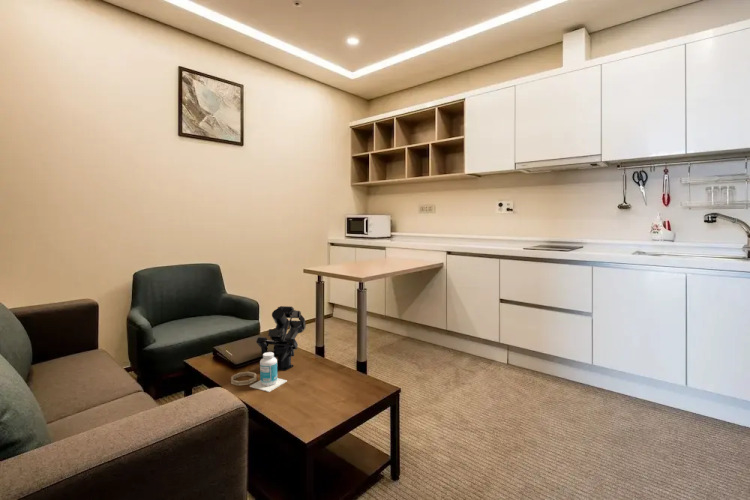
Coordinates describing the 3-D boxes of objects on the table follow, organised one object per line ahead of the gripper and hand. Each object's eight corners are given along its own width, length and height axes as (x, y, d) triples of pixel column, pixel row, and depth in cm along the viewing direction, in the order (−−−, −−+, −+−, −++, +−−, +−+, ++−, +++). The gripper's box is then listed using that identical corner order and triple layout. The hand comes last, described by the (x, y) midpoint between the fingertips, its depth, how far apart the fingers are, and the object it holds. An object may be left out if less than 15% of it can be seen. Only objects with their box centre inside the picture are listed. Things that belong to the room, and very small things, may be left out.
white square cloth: (268, 376, 175) (268, 375, 175) (287, 381, 170) (287, 380, 170) (249, 386, 164) (249, 385, 164) (269, 392, 159) (268, 391, 159)
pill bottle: (274, 378, 172) (274, 349, 171) (279, 384, 166) (279, 354, 165) (258, 381, 169) (257, 352, 167) (262, 388, 162) (262, 358, 161)
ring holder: (244, 373, 178) (244, 370, 178) (261, 377, 174) (261, 374, 173) (225, 382, 168) (225, 378, 168) (243, 387, 164) (243, 383, 164)
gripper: (257, 320, 175) (246, 351, 165) (295, 322, 173) (286, 354, 163) (265, 331, 184) (255, 361, 174) (301, 333, 181) (293, 364, 171)
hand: (272, 360), depth 170 cm, fingers open, 9 cm apart
